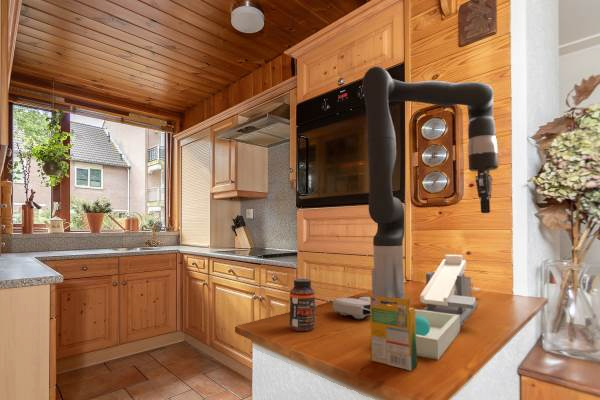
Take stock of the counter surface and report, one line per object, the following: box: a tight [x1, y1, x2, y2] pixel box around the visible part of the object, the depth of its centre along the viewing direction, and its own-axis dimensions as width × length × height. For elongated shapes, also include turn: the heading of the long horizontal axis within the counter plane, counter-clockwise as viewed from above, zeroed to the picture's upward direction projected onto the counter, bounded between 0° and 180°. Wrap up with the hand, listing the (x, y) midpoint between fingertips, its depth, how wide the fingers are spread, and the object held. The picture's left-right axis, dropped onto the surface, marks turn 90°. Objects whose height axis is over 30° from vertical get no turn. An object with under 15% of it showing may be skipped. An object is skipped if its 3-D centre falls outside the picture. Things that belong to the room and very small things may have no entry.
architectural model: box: [453, 275, 481, 297], centre depth 112 cm, size 3×7×7 cm, turn 38°
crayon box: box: [369, 294, 418, 372], centre depth 61 cm, size 7×3×12 cm, turn 52°
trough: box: [419, 254, 477, 309], centre depth 92 cm, size 12×26×6 cm, turn 145°
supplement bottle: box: [289, 278, 316, 332], centre depth 82 cm, size 6×6×11 cm
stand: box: [421, 271, 478, 328], centre depth 93 cm, size 11×27×10 cm, turn 145°
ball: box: [415, 316, 430, 336], centre depth 73 cm, size 4×4×4 cm
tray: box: [415, 308, 461, 360], centre depth 73 cm, size 12×20×4 cm, turn 145°
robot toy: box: [326, 296, 390, 320], centre depth 93 cm, size 12×4×15 cm
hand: (485, 212), depth 99 cm, fingers closed
